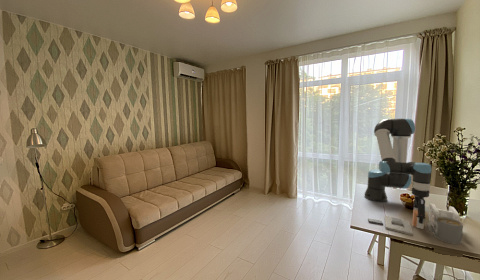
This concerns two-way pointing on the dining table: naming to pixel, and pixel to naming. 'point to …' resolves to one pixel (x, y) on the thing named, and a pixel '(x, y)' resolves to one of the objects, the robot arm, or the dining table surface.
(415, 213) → the block
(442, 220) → the coffee mug
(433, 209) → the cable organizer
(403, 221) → the outlet plate
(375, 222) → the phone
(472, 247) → the dining table surface
